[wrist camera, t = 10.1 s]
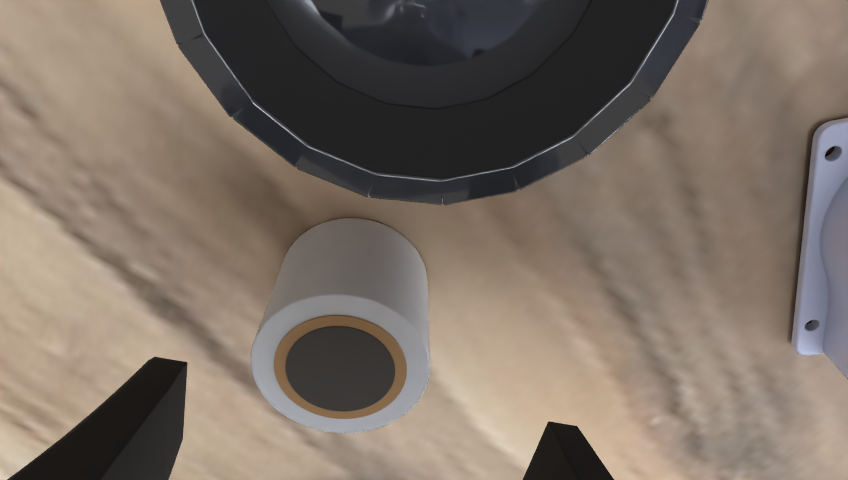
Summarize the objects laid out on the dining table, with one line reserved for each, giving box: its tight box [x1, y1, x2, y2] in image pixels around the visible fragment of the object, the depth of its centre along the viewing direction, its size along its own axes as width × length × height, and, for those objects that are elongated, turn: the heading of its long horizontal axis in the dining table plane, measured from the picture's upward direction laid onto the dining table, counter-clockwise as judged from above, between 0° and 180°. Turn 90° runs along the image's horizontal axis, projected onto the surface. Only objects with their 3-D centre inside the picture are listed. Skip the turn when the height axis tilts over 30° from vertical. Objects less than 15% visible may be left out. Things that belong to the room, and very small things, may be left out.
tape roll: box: [251, 218, 430, 433], centre depth 21 cm, size 5×5×5 cm
